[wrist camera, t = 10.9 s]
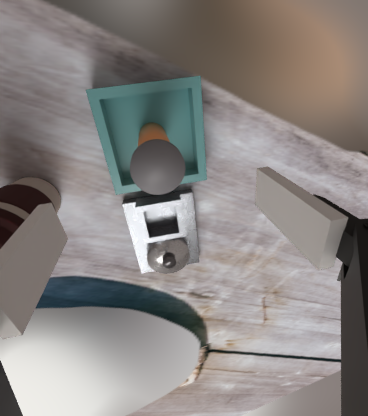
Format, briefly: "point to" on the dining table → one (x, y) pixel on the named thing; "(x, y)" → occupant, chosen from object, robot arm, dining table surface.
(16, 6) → the dining table surface
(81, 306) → the dining table surface
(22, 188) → the coffee cup
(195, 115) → the tray
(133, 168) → the pin
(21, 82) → the dining table surface
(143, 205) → the silver rectangular stand
